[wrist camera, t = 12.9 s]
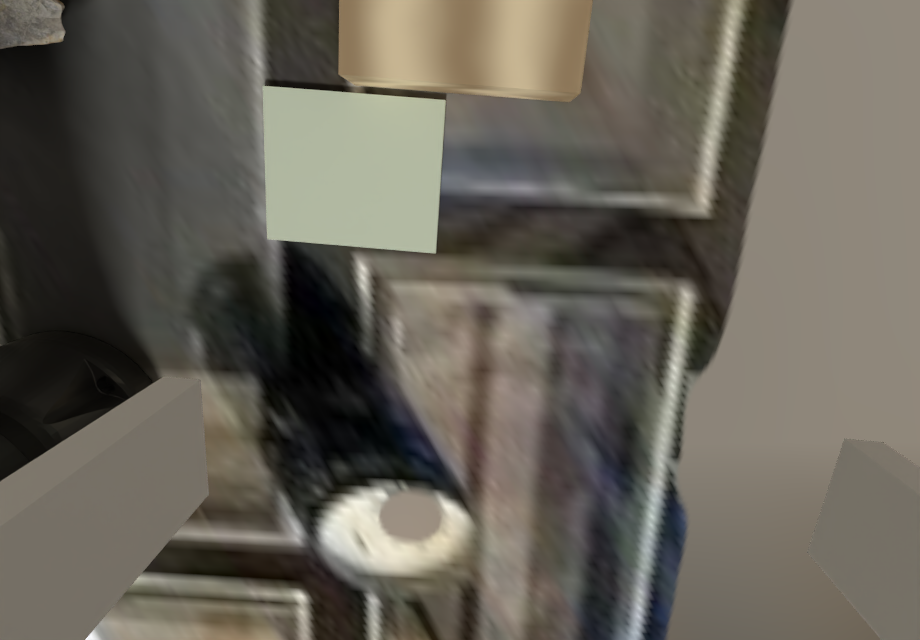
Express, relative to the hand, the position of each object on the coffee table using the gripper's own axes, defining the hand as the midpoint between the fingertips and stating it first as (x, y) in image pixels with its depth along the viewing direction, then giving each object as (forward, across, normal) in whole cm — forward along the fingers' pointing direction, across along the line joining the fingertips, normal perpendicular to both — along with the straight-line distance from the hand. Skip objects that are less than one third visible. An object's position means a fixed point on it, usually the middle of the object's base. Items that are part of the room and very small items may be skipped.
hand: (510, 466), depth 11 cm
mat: (+27, -10, +5) cm, 29 cm away
